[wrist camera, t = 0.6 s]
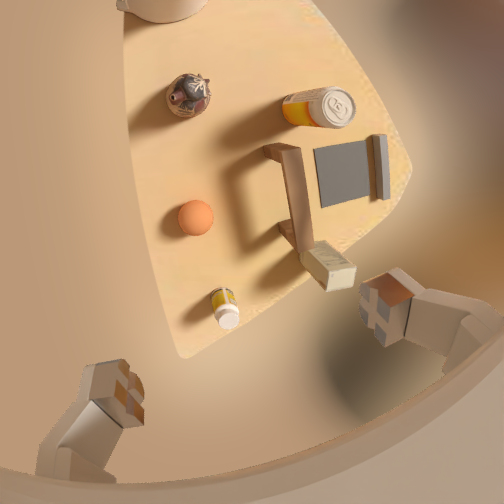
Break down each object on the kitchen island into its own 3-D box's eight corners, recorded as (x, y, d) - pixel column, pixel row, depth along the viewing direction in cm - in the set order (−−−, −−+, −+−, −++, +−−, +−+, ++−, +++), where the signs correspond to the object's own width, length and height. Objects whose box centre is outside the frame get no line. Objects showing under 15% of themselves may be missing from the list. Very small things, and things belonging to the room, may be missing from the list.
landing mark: (313, 148, 49) (314, 149, 49) (365, 140, 50) (365, 140, 50) (321, 207, 54) (322, 207, 54) (369, 194, 56) (370, 195, 56)
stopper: (372, 134, 50) (379, 135, 48) (379, 133, 50) (386, 134, 48) (376, 197, 57) (383, 200, 54) (383, 195, 57) (390, 198, 55)
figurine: (215, 108, 42) (225, 103, 31) (175, 124, 41) (172, 123, 31) (201, 71, 38) (207, 55, 28) (160, 87, 38) (153, 75, 27)
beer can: (301, 131, 47) (344, 137, 34) (274, 113, 44) (311, 111, 31) (317, 106, 45) (365, 104, 32) (291, 86, 43) (333, 76, 30)
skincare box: (298, 261, 59) (323, 293, 48) (300, 242, 57) (327, 271, 46) (325, 258, 60) (353, 287, 50) (327, 239, 58) (358, 267, 48)
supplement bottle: (209, 304, 58) (214, 330, 51) (212, 286, 56) (217, 311, 49) (231, 305, 60) (239, 331, 52) (234, 287, 58) (243, 311, 51)
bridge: (279, 231, 55) (298, 253, 46) (263, 145, 46) (281, 151, 38) (293, 227, 55) (314, 248, 47) (279, 142, 47) (300, 147, 38)
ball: (173, 202, 47) (172, 212, 42) (206, 192, 48) (209, 201, 43) (183, 232, 50) (184, 246, 45) (215, 222, 51) (219, 235, 45)
